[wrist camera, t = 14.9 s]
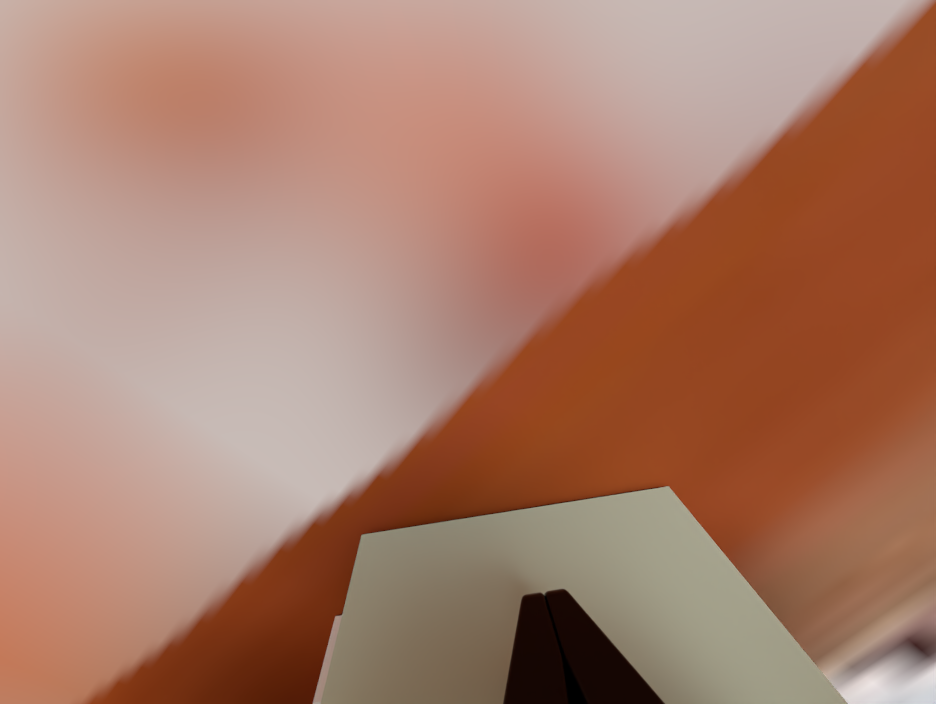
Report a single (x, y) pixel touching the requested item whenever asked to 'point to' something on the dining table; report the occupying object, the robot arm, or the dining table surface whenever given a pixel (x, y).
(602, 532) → the tray
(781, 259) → the dining table surface
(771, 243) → the dining table surface
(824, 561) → the dining table surface
